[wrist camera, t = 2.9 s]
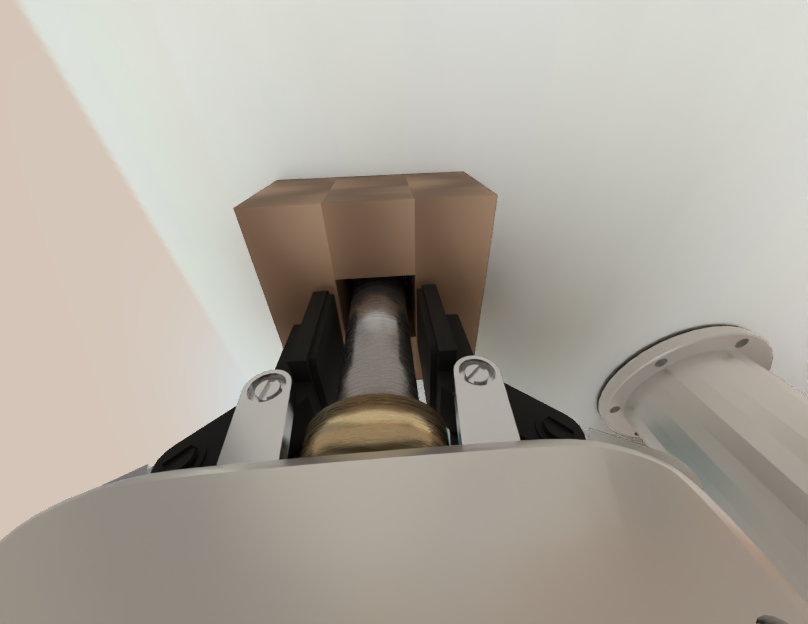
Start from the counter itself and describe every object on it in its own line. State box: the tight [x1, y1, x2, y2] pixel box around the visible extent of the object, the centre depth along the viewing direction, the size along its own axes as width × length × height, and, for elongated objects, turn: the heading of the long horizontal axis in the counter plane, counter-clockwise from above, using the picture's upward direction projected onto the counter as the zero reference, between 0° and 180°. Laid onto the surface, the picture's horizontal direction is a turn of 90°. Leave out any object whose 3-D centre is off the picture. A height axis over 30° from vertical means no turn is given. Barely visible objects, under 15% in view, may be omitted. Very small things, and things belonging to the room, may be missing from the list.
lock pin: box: [300, 276, 450, 458], centre depth 11 cm, size 4×4×12 cm
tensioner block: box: [233, 172, 498, 380], centre depth 14 cm, size 9×9×5 cm
